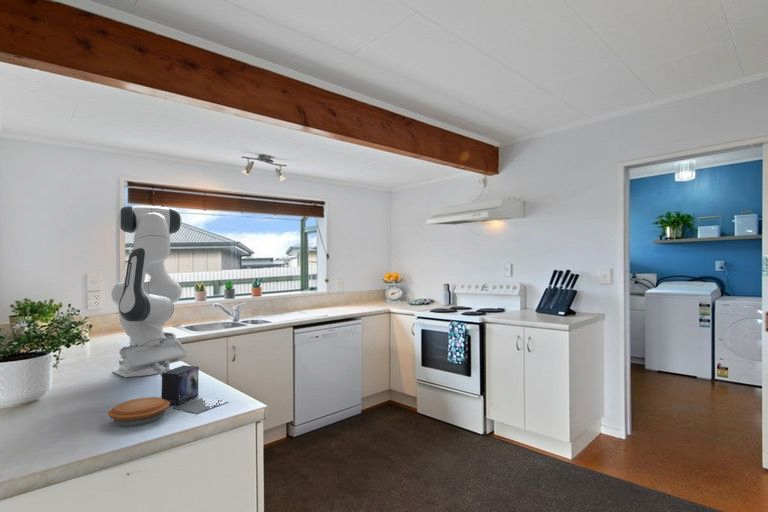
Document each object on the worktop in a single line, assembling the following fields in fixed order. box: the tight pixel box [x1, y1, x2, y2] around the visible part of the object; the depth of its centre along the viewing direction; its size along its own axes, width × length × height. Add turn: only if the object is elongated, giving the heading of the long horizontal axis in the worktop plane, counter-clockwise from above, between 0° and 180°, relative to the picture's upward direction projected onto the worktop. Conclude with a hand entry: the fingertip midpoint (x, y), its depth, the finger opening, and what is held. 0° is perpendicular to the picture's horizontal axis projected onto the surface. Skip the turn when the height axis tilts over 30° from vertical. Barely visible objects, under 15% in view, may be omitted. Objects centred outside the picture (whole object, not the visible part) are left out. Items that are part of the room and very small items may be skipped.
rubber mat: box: [172, 397, 223, 415], centre depth 130 cm, size 11×12×1 cm
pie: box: [107, 396, 170, 428], centre depth 118 cm, size 15×16×5 cm
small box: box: [160, 364, 200, 407], centre depth 134 cm, size 11×6×10 cm, turn 168°
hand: (166, 374), depth 138 cm, fingers closed
